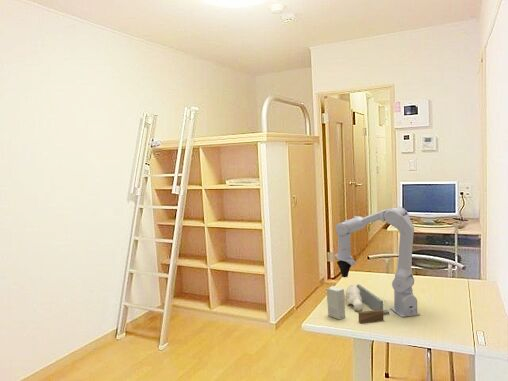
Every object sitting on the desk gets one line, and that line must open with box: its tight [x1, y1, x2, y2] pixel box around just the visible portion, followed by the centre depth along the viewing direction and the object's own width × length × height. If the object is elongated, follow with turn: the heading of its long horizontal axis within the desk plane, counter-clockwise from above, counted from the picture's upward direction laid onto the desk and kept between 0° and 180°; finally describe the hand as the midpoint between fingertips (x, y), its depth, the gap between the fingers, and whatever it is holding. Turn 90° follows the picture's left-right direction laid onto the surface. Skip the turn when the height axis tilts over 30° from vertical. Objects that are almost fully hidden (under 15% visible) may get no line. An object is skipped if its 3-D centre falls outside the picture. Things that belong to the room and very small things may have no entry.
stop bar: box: [357, 309, 384, 324], centre depth 160 cm, size 2×10×4 cm, turn 101°
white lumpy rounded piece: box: [344, 284, 364, 312], centre depth 175 cm, size 6×8×12 cm
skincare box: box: [326, 285, 346, 320], centre depth 165 cm, size 6×4×12 cm
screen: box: [356, 284, 390, 316], centre depth 176 cm, size 22×4×6 cm, turn 11°
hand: (344, 276), depth 185 cm, fingers closed
